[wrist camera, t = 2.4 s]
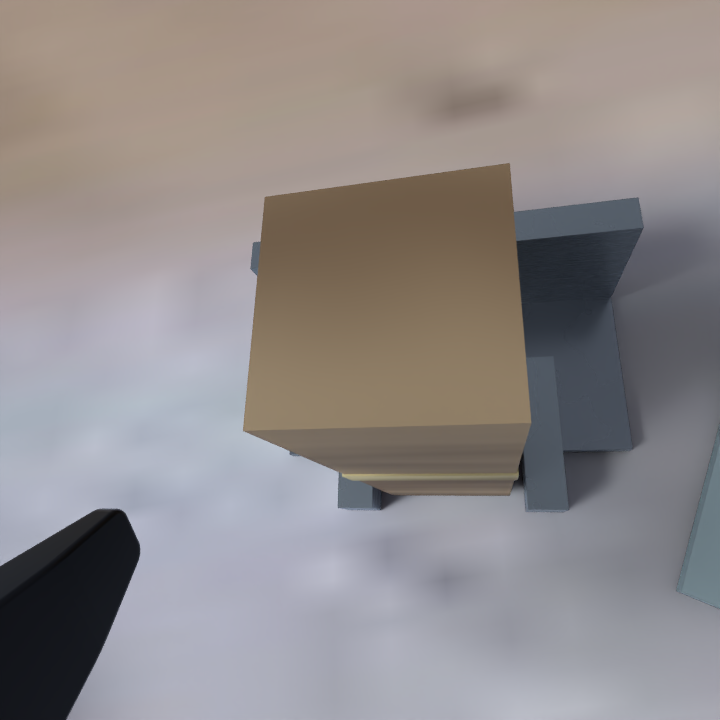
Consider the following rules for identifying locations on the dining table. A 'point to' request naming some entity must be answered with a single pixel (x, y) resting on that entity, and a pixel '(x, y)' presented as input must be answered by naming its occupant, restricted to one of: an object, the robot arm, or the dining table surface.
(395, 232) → the tan rectangular block
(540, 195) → the dining table surface
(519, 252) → the bracket
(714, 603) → the mat
